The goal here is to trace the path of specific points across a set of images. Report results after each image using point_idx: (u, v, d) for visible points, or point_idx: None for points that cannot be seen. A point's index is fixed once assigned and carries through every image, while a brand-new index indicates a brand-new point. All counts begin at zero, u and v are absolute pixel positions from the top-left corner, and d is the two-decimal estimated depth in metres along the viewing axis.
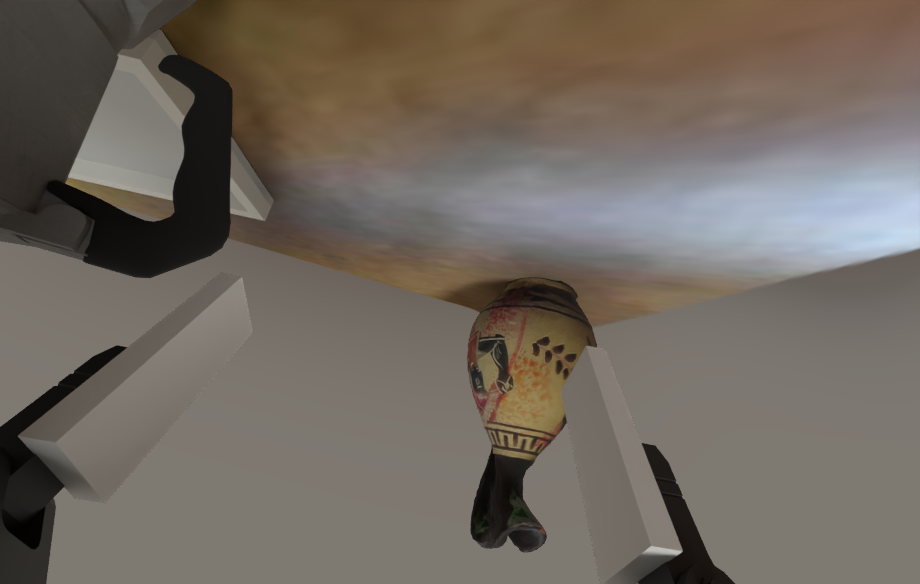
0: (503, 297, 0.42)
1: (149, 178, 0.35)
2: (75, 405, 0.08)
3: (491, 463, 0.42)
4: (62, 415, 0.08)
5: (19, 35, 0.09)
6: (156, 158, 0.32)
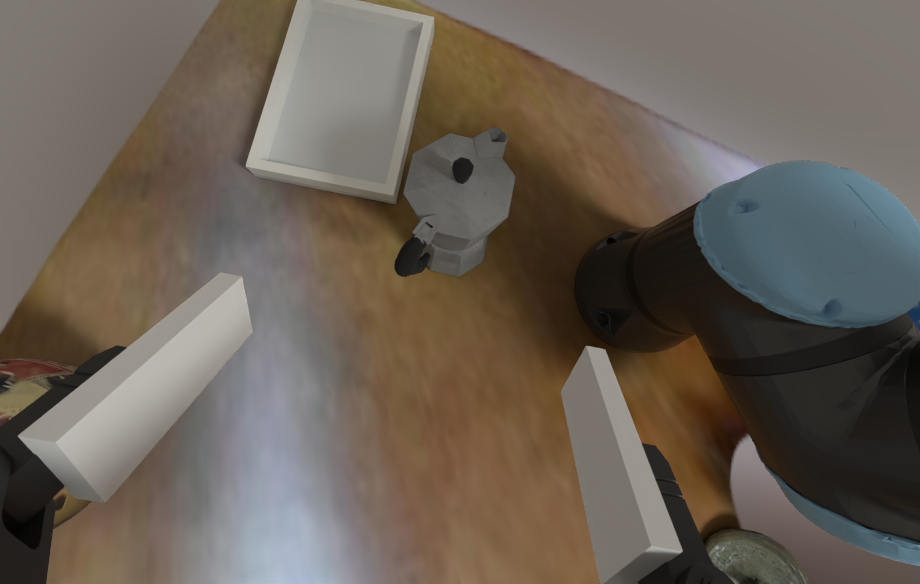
0: None
1: (286, 91, 0.44)
2: (75, 405, 0.08)
3: None
4: (62, 415, 0.08)
5: (457, 245, 0.32)
6: (307, 117, 0.44)
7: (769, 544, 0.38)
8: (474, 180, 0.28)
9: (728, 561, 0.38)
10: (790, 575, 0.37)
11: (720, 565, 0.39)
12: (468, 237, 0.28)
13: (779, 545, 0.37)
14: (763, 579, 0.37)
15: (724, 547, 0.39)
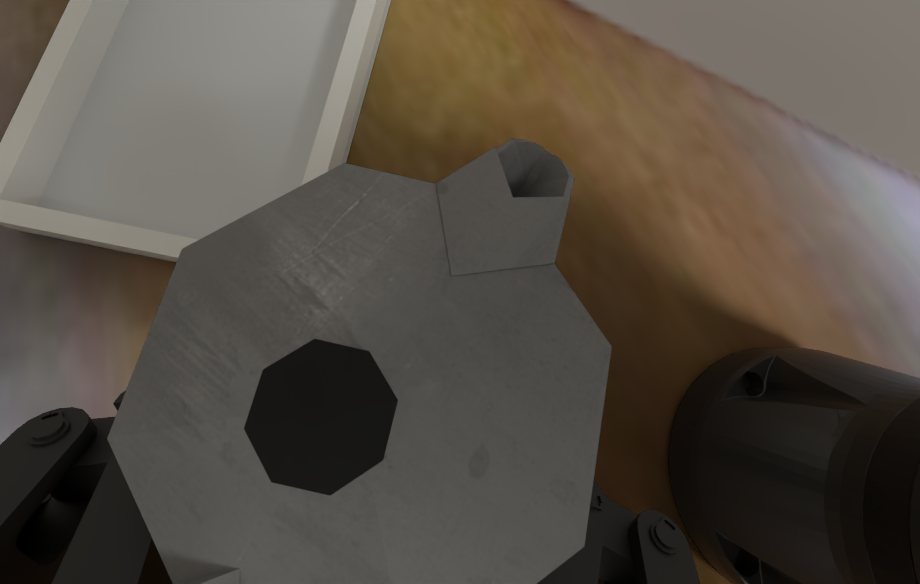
0: None
1: (93, 58, 0.22)
2: None
3: None
4: None
5: None
6: (137, 112, 0.22)
7: None
8: (426, 403, 0.06)
9: None
10: None
11: None
12: None
13: None
14: None
15: None
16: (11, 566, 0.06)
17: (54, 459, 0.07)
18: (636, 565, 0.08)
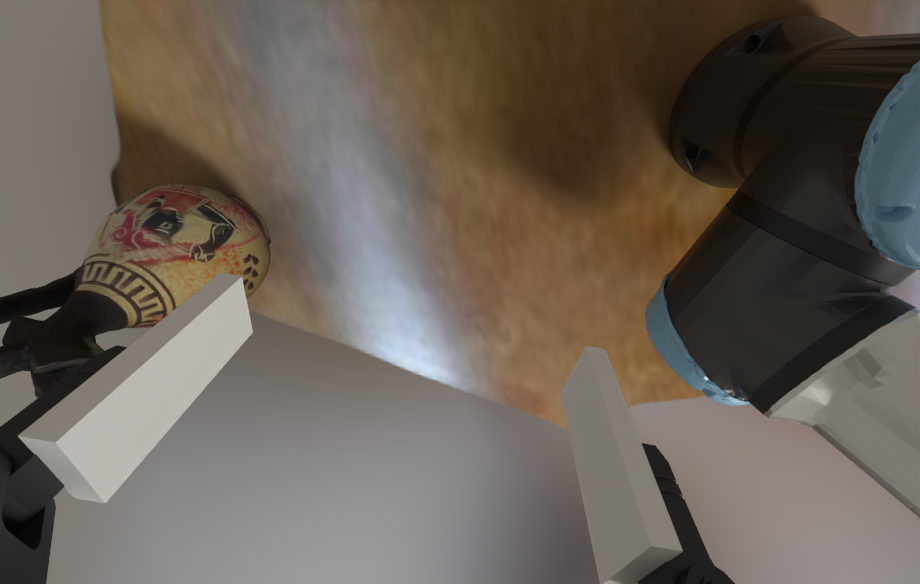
0: None
1: None
2: (75, 405, 0.08)
3: (32, 297, 0.29)
4: (62, 415, 0.08)
5: None
6: None
7: None
8: None
9: None
10: None
11: None
12: None
13: None
14: None
15: None
16: None
17: None
18: None
